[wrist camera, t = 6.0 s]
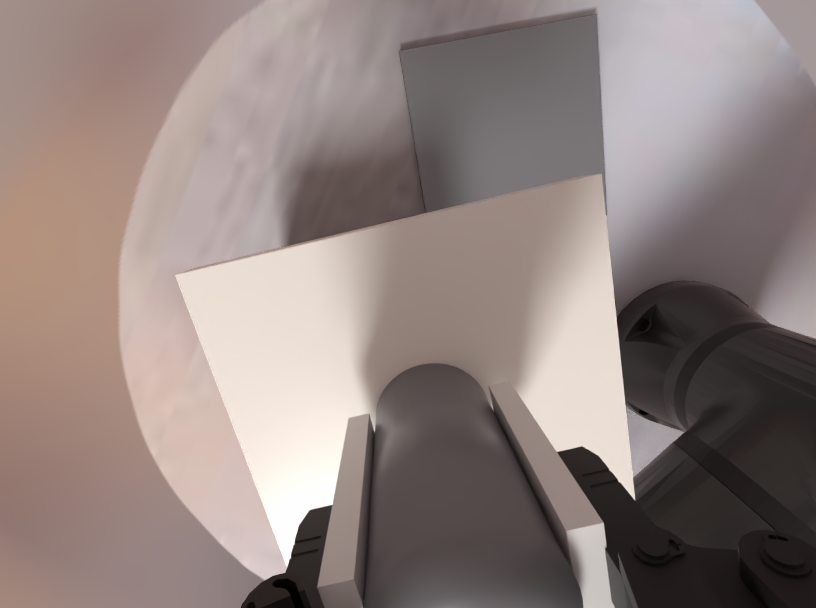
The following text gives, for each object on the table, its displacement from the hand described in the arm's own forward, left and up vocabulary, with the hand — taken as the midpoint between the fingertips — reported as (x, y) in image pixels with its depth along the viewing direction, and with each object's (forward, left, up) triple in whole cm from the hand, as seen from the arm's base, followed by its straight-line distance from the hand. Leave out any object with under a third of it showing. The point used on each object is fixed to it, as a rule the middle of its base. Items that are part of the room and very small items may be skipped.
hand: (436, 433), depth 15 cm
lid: (0, 0, -3) cm, 3 cm away
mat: (-12, -11, -26) cm, 31 cm away
